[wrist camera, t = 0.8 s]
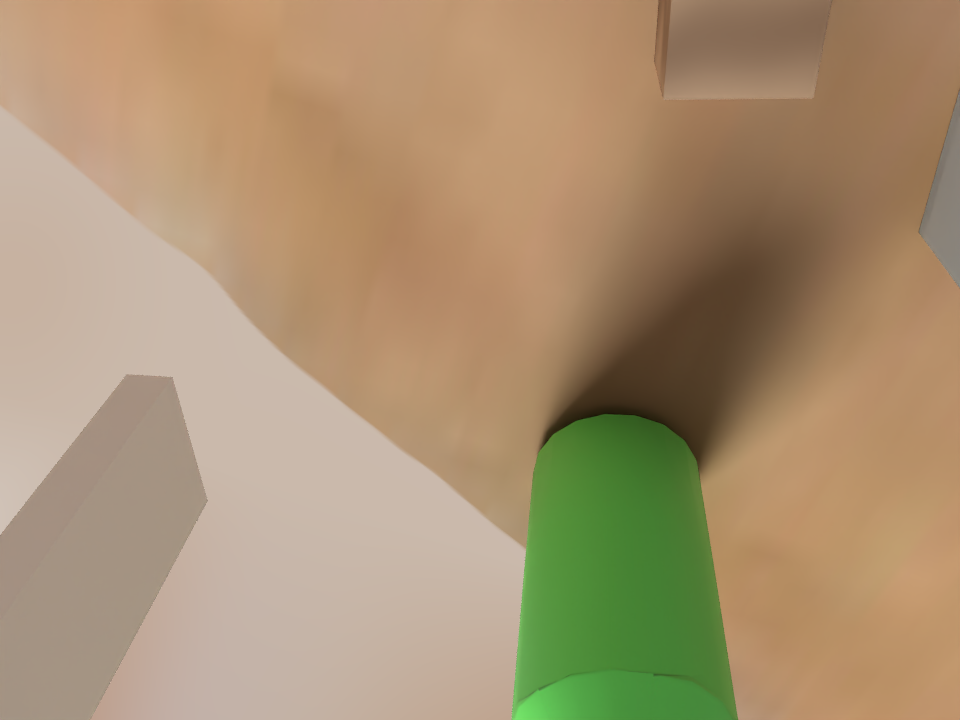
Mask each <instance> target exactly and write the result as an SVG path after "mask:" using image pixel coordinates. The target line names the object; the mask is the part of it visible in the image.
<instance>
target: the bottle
mask: <svg viewBox="0 0 960 720" xmlns="http://www.w3.org/2000/svg"><path fill="white" fill-rule="evenodd" d="M512 720H738V717H737V711H736V704H735V698H734V692H733V685H732V679H731V672H730V666H729V660H728V653H727V647H726V641H725V634H724V628H723V621H722V615H721V609H720V602H719V596H718V590H717V583H716V577H715V570H714V564H713V558H712V552H711V546H710V539H709V533H708V527H707V521H706V515H705V508H704V502H703V496H702V490H701V484H700V478H699V471H698V465H697V460H696V459H695V457H694V455H693V454H692V452H691V450H690V449H689V447H688V445H687V444H686V442H685V440H683V439H682V438H681V437H679V436H678V435H677V434H675V433H674V432H673V431H671V430H670V429H669V428H667V427H666V426H665V425H664V424H661V423H658V422H654V421H651V420H648V419H645V418H642V417H639V416H636V415H615V414H603V415H599V416H595V417H590V418H586V419H582V420H577V421H575V422H573V423H572V424H570V425H568V426H567V427H565V428H563V429H561V430H560V431H558V432H556V433H555V434H553V435H552V436H551V438H550V439H549V440H548V441H547V443H546V444H545V445H544V446H543V448H542V449H541V450H540V451H539V452H538V456H537V460H536V464H535V468H534V472H533V481H532V492H531V503H530V514H529V525H528V536H527V547H526V559H525V569H524V581H523V592H522V603H521V615H520V627H519V639H518V650H517V662H516V673H515V686H514V697H513V708H512Z"/></svg>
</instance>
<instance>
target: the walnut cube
mask: <svg viewBox="0 0 960 720" xmlns="http://www.w3.org/2000/svg"><path fill="white" fill-rule="evenodd" d="M831 3H832V0H659V5H658V18H657V31H656V45H655V58H654V62H655V66H656V71H657V75H658V79H659V84H660V88H661V92H662V97H663V100H703V99H801V98H814V93H815V88H816V82H817V77H818V72H819V67H820V61H821V56H822V51H823V45H824V40H825V35H826V29H827V24H828V19H829V13H830V8H831Z"/></svg>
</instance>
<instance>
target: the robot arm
mask: <svg viewBox="0 0 960 720" xmlns="http://www.w3.org/2000/svg"><path fill="white" fill-rule="evenodd" d="M206 503H207V497H206V494H205V491H204V487H203V483H202V480H201V476H200V473H199V469H198V466H197V462H196V459H195V455H194V452H193V448H192V445H191V441H190V438H189V434H188V430H187V427H186V423H185V420H184V416H183V413H182V409H181V406H180V402H179V399H178V395H177V392H176V388H175V385H174V381H173V378H172V377H161V376H143V375H126V376H125V377H124V379H123V380H122V381H121V382H120V384H119V385H118V386H117V388H116V389H115V390H114V391H113V393H112V394H111V395H110V396H109V398H108V399H107V400H106V401H105V403H104V404H103V405H102V407H101V408H100V409H99V411H98V412H97V413H96V414H95V416H94V417H93V418H92V419H91V421H90V422H89V423H88V424H87V426H86V427H85V428H84V429H83V431H82V432H81V433H80V435H79V436H78V437H77V438H76V440H75V441H74V442H73V443H72V445H71V446H70V447H69V449H68V450H67V451H66V452H65V454H64V455H63V456H62V457H61V459H60V460H59V461H58V462H57V464H56V465H55V466H54V468H53V469H52V470H51V471H50V473H49V474H48V475H47V477H46V478H45V479H44V480H43V482H42V483H41V484H40V485H39V487H38V488H37V489H36V490H35V492H34V493H33V494H32V495H31V497H30V498H29V499H28V501H27V502H26V503H25V504H24V506H23V507H22V508H21V509H20V511H19V512H18V513H17V515H16V516H15V517H14V518H13V520H12V521H11V522H10V524H9V525H8V526H7V527H6V529H5V530H4V531H3V532H2V534H1V535H0V720H90V719H91V718H92V716H93V714H94V712H95V710H96V708H97V706H98V704H99V702H100V701H101V699H102V697H103V695H104V693H105V691H106V690H107V688H108V686H109V684H110V682H111V680H112V678H113V676H114V674H115V673H116V671H117V669H118V667H119V665H120V663H121V661H122V660H123V658H124V656H125V654H126V652H127V650H128V648H129V647H130V645H131V643H132V641H133V639H134V637H135V635H136V633H137V632H138V630H139V628H140V626H141V624H142V622H143V620H144V619H145V616H146V615H147V613H148V611H149V609H150V607H151V606H152V604H153V602H154V600H155V598H156V596H157V594H158V592H159V590H160V589H161V587H162V585H163V583H164V581H165V579H166V577H167V576H168V574H169V572H170V570H171V568H172V566H173V564H174V562H175V561H176V559H177V557H178V555H179V553H180V551H181V549H182V548H183V546H184V544H185V542H186V540H187V538H188V536H189V534H190V533H191V531H192V529H193V527H194V525H195V523H196V521H197V520H198V518H199V516H200V514H201V512H202V510H203V508H204V507H205V505H206Z"/></svg>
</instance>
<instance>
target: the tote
mask: <svg viewBox="0 0 960 720" xmlns="http://www.w3.org/2000/svg"><path fill="white" fill-rule="evenodd" d="M919 233H920V235H921V236H922V238H923V239H924V240H925V242H926V243H927V244H928V246H929V247H930V248H931V250H932V251H933V253H934V254H935V255H936V257H937V258H938V259H939V261H940V262H941V263H942V265H943V266H944V267H945V269H946V270H947V272H948V273H949V274H950V276H951V277H952V278H953V280H954V281H955V282H956V284H957V285H958V286H959V288H960V91H959V94H958V98H957V101H956V105H955V108H954V111H953V115H952V118H951V122H950V125H949V129H948V132H947V136H946V139H945V143H944V146H943V150H942V153H941V157H940V160H939V163H938V167H937V170H936V174H935V177H934V181H933V184H932V188H931V191H930V195H929V198H928V202H927V205H926V209H925V212H924V215H923V219H922V222H921V226H920V229H919Z"/></svg>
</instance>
